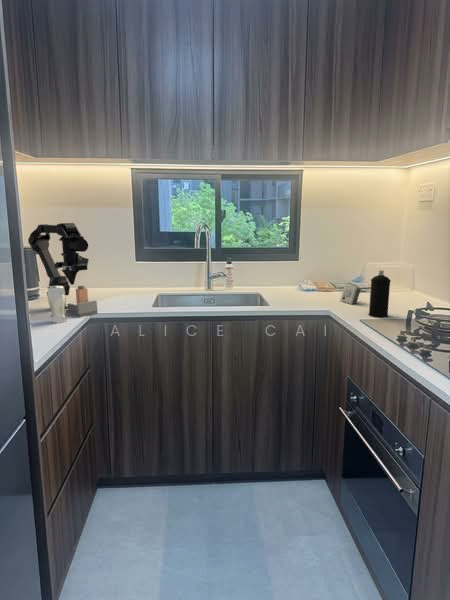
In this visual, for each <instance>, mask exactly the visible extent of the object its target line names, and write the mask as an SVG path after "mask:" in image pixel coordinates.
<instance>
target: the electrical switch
mask: <svg viewBox="0 0 450 600" xmlns="http://www.w3.org/2000/svg"><path fill="white" fill-rule="evenodd" d="M361 290H362V289H361V288H358V286H357V285H352V284H350V283H349V284H348V283H345V284H344V286H343V290H342V292H341V297H340V302H342V303H346V304H349V305H353V304H355V305H356V304H357V303H358V299H359V296H360V293H361Z"/></svg>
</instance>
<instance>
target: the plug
mask: <svg viewBox="0 0 450 600" xmlns="http://www.w3.org/2000/svg"><path fill="white" fill-rule="evenodd" d="M88 296H89V295H88V288H87V287H85V285H78V286H77V288H75V297H76V298H75V299H76V305H77V304H78V303H83V302H89V297H88Z"/></svg>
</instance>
